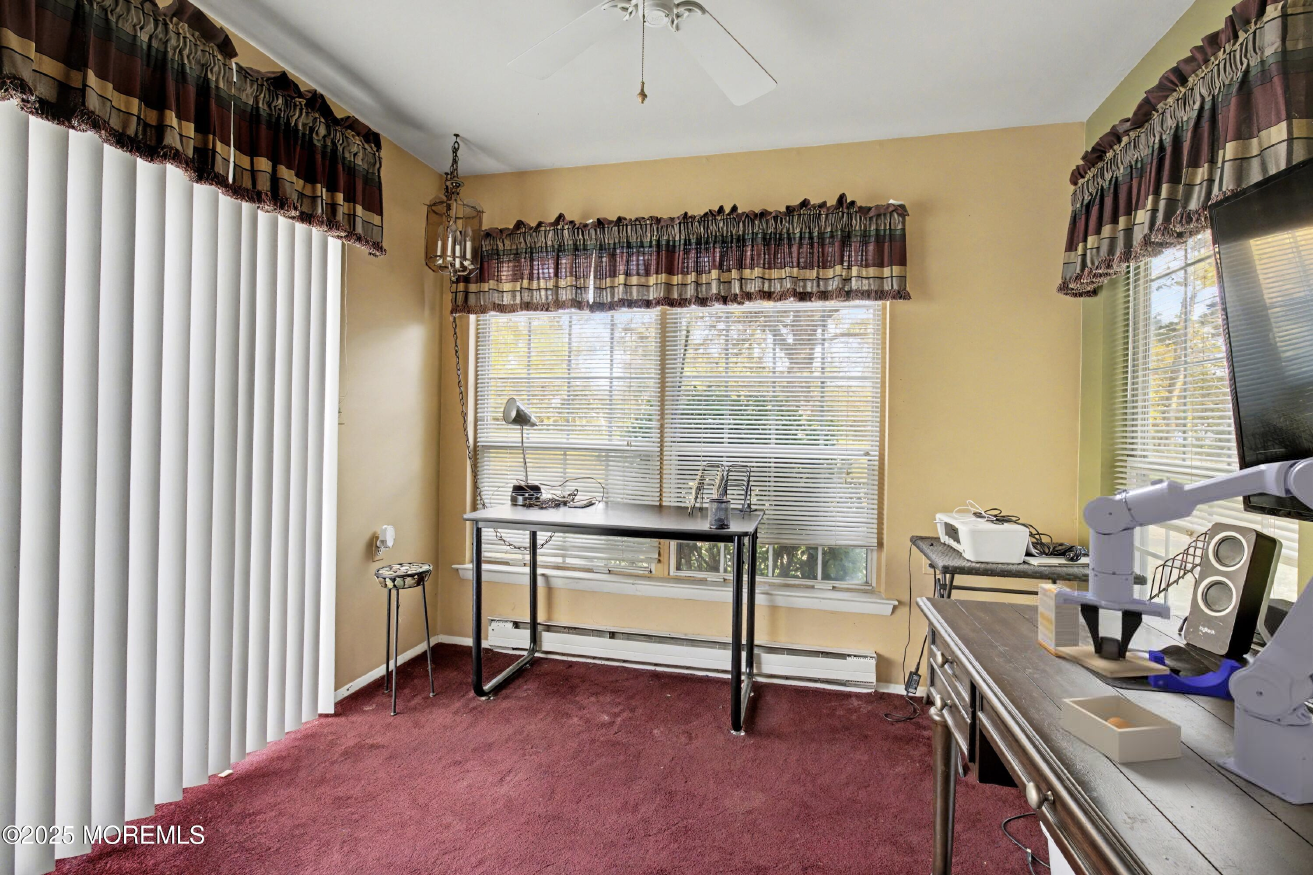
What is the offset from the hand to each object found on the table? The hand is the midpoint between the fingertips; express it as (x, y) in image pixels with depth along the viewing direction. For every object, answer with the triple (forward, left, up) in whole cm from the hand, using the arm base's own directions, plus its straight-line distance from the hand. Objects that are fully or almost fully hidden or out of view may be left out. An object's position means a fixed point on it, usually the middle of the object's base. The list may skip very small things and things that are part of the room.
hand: (1109, 654), depth 97 cm
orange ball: (-6, +5, -9) cm, 12 cm away
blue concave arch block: (+8, -24, -11) cm, 28 cm away
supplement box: (+28, -15, -11) cm, 33 cm away
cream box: (-6, +5, -11) cm, 13 cm away
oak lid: (0, 0, -1) cm, 1 cm away
